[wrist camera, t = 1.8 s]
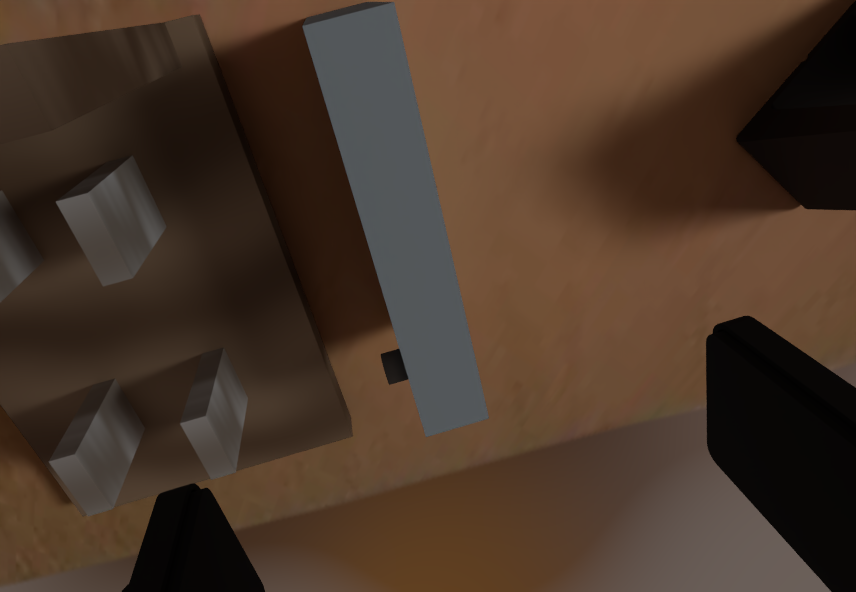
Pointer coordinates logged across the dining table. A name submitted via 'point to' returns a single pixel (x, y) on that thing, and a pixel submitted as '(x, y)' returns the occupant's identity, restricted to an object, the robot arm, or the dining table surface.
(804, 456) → the robot arm
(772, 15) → the dining table surface
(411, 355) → the blue-grey rectangular block
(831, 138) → the phone stand
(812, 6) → the dining table surface
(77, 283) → the wooden peg rack
